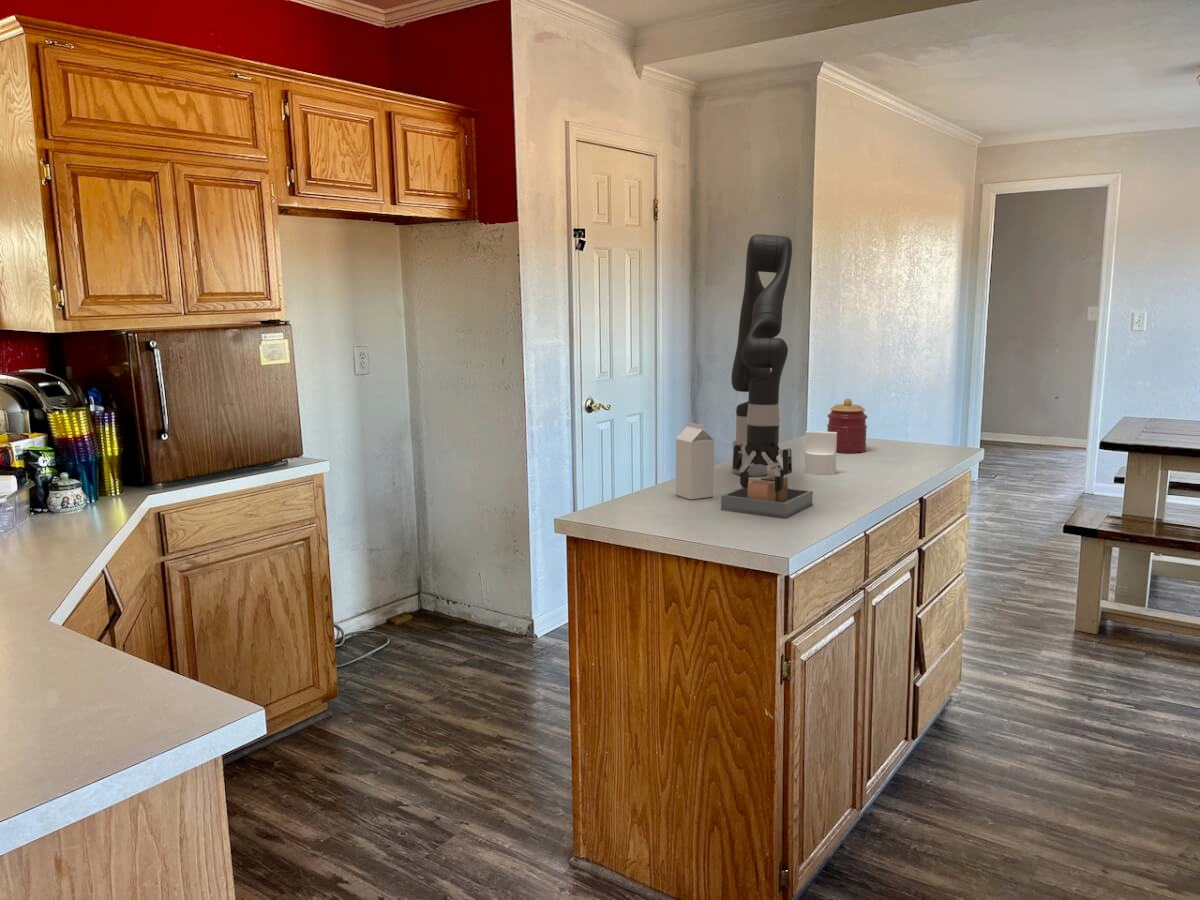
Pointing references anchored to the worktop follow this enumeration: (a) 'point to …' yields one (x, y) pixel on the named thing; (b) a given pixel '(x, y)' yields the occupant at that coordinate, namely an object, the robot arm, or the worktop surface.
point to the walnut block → (782, 494)
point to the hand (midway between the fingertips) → (761, 489)
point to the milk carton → (694, 463)
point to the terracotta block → (761, 490)
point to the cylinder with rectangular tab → (820, 452)
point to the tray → (766, 503)
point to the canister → (848, 427)
